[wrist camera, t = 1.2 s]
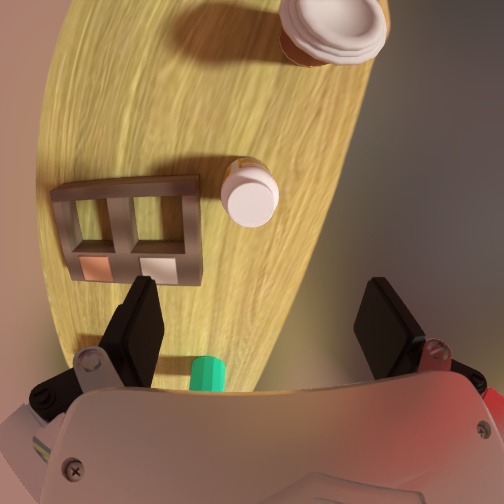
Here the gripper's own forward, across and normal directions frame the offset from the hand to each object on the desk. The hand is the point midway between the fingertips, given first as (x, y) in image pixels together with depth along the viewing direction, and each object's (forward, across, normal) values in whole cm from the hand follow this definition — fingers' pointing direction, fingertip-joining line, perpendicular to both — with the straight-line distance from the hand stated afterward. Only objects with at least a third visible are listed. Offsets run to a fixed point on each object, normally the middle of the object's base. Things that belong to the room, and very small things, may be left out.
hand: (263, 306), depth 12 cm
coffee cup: (+22, -6, -17) cm, 29 cm away
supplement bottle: (+22, 0, 0) cm, 23 cm away
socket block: (+22, +15, +6) cm, 27 cm away
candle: (+23, +6, +33) cm, 40 cm away
